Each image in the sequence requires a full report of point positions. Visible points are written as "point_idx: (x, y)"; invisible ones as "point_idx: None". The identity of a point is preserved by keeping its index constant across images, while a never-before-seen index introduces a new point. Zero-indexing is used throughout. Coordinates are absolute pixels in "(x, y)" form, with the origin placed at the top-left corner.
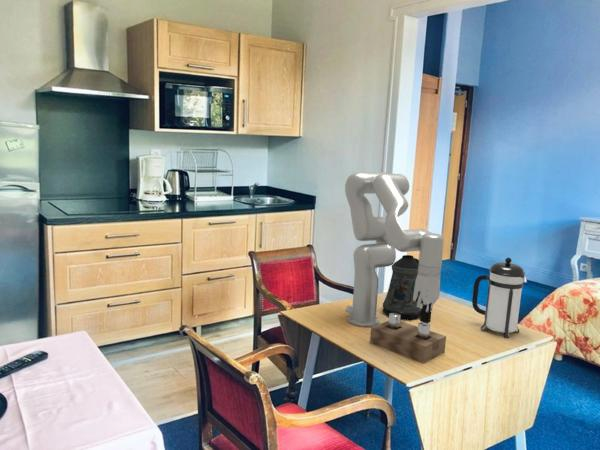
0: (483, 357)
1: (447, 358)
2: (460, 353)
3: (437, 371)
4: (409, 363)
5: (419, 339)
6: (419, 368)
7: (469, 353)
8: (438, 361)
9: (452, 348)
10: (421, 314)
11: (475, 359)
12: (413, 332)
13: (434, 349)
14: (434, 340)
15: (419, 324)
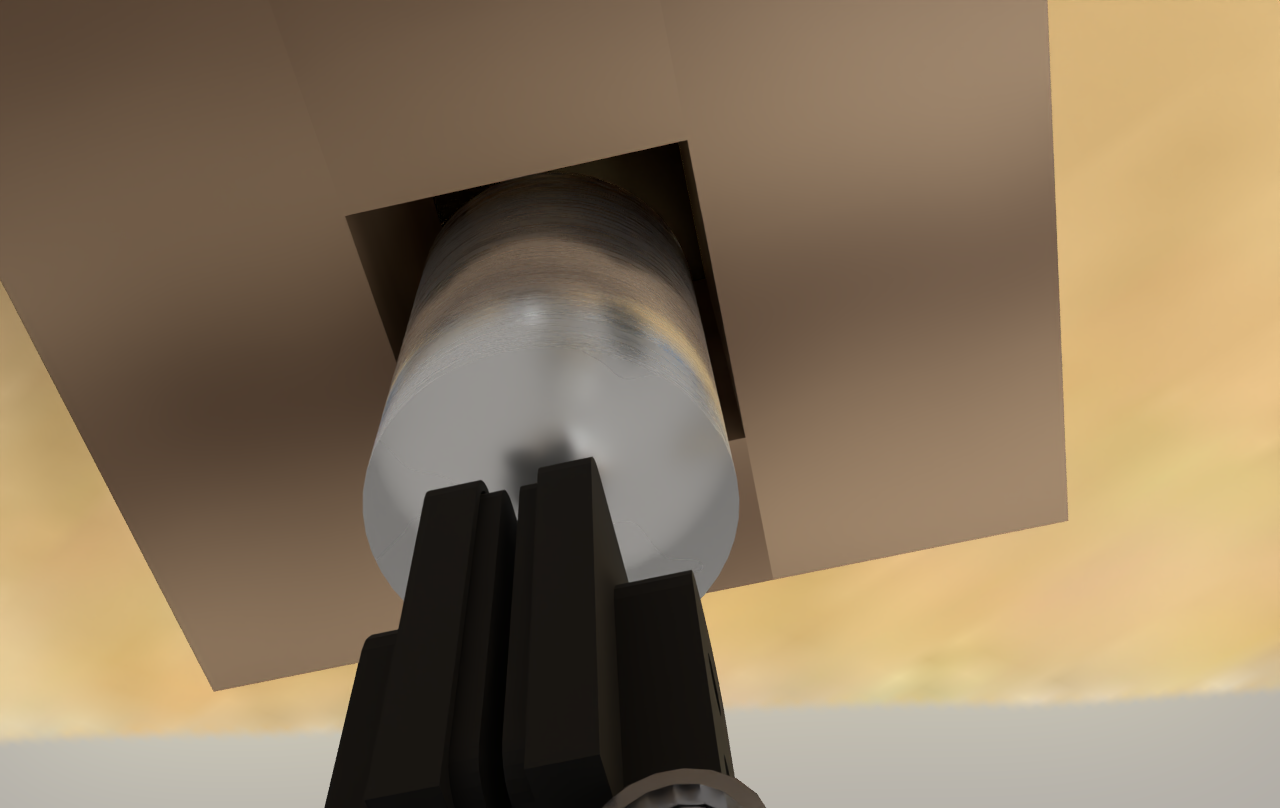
0: (1275, 687)
1: None
2: (1143, 480)
3: (312, 712)
4: None
5: (348, 410)
6: (114, 566)
7: (1257, 534)
8: None
9: (1235, 296)
10: (336, 771)
11: (1117, 684)
12: (534, 8)
13: None
14: None
15: (392, 465)
